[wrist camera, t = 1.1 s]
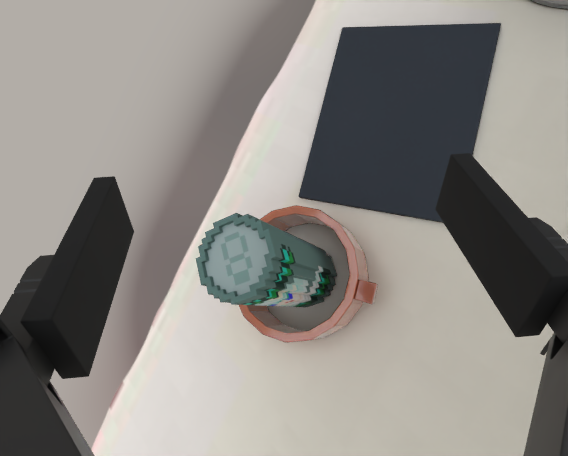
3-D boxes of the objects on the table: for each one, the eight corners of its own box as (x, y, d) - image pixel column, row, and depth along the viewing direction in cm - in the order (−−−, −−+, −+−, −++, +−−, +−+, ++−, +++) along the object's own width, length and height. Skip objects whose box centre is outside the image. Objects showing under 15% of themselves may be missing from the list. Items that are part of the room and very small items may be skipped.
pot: (257, 205, 45) (238, 194, 41) (397, 232, 38) (390, 222, 34) (228, 313, 44) (205, 314, 40) (366, 361, 37) (356, 367, 33)
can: (288, 312, 41) (207, 312, 28) (273, 258, 43) (190, 232, 29) (343, 295, 39) (284, 285, 26) (325, 238, 41) (261, 202, 28)
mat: (343, 30, 45) (342, 27, 45) (500, 26, 38) (500, 22, 38) (300, 197, 43) (298, 196, 43) (456, 224, 36) (457, 223, 36)
